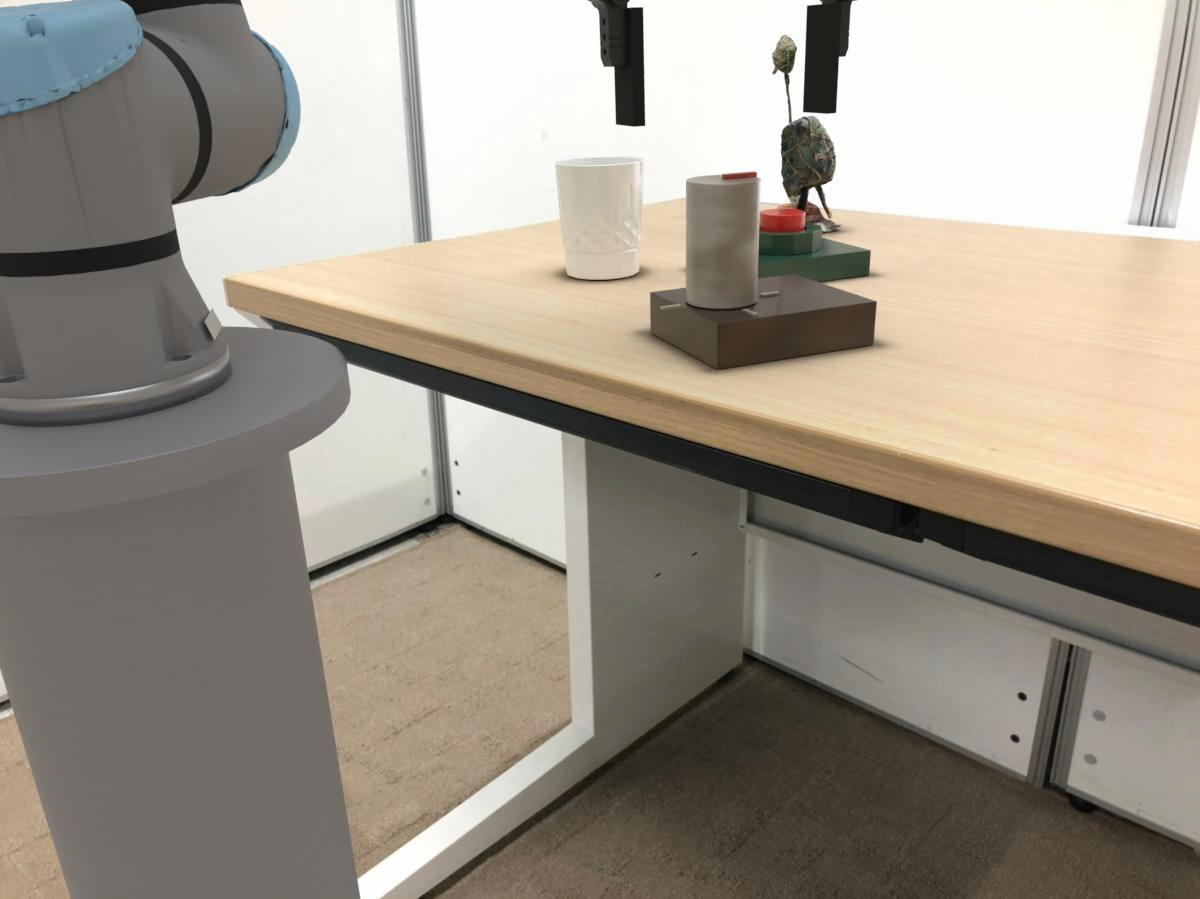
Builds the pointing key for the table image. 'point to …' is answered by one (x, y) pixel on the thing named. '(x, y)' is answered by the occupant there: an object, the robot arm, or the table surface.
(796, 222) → the button
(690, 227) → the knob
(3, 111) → the robot arm
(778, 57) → the stone bird figurine
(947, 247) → the table surface
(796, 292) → the panel
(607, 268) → the white cup
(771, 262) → the switchbox
